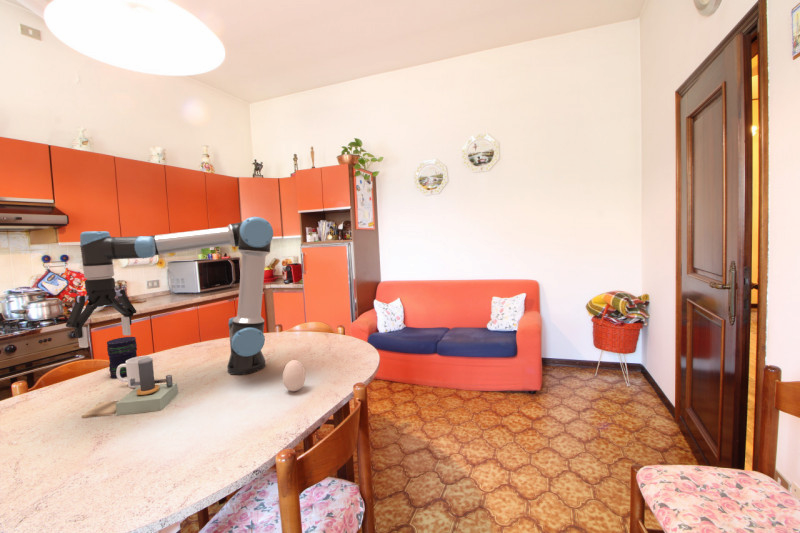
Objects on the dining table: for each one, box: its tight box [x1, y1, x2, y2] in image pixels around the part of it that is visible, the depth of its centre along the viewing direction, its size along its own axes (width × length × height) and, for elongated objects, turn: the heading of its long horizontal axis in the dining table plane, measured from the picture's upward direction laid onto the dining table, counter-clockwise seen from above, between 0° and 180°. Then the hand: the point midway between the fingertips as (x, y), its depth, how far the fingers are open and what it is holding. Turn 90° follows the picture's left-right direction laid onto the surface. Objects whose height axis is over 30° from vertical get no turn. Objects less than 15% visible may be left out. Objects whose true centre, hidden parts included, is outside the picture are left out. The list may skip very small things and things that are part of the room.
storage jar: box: [106, 336, 138, 380], centre depth 148 cm, size 10×10×15 cm
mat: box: [81, 400, 119, 419], centre depth 116 cm, size 9×9×1 cm
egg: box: [282, 359, 307, 392], centre depth 126 cm, size 8×8×11 cm
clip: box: [130, 374, 174, 387], centre depth 122 cm, size 13×2×4 cm, turn 101°
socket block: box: [116, 382, 179, 416], centre depth 120 cm, size 13×13×4 cm
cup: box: [116, 355, 153, 389], centre depth 136 cm, size 8×12×10 cm
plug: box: [136, 357, 160, 396], centre depth 119 cm, size 6×6×16 cm
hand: (106, 340), depth 116 cm, fingers open, 13 cm apart
